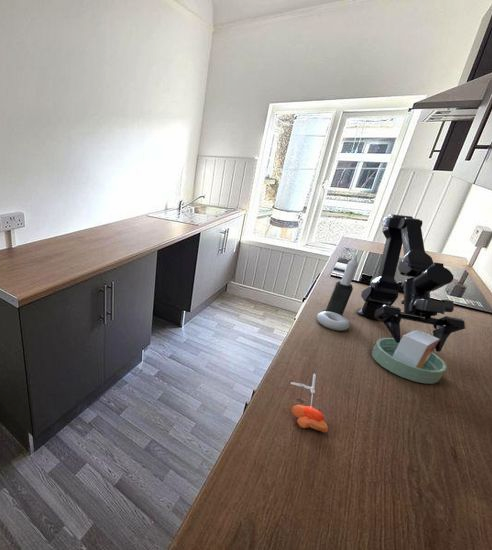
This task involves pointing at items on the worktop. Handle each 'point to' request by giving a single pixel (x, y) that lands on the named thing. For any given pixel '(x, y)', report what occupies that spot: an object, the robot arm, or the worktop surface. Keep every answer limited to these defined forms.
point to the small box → (415, 348)
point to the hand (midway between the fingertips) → (417, 346)
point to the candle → (343, 289)
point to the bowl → (425, 375)
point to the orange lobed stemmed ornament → (309, 413)
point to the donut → (333, 321)
